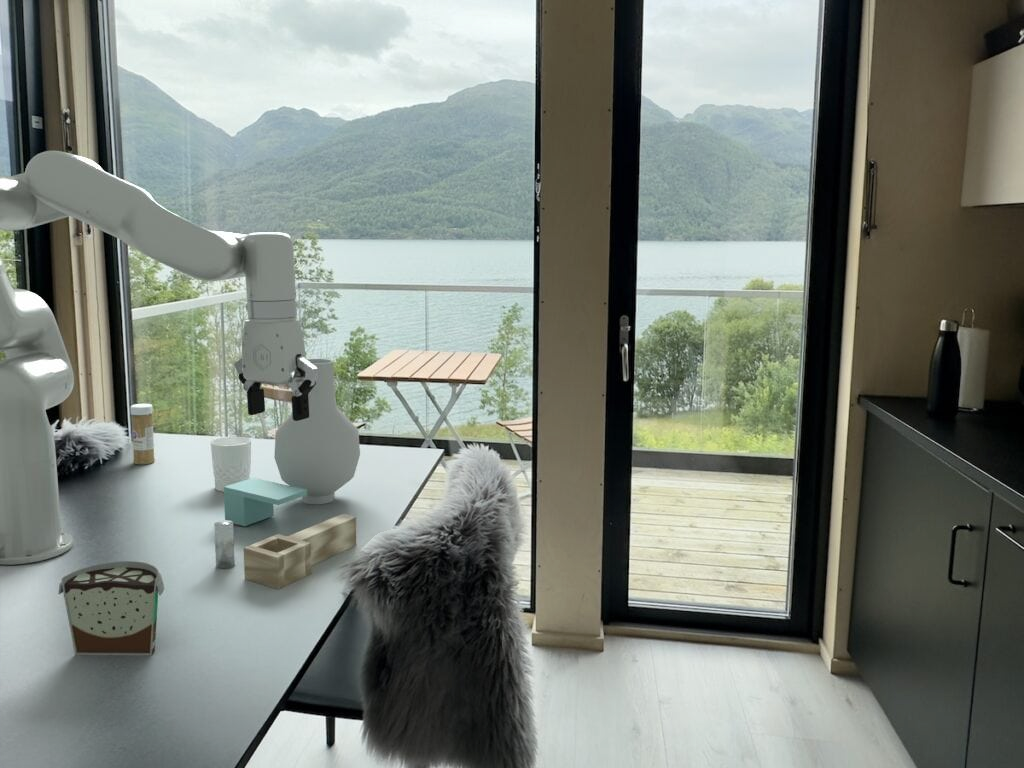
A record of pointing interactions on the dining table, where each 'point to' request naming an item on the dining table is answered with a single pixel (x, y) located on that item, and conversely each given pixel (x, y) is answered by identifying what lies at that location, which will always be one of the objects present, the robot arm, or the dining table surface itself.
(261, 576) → the link
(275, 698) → the dining table surface
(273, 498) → the keeper
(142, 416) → the sprinkles bottle
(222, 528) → the post
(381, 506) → the dining table surface
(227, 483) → the white cup
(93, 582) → the food container
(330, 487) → the vase
